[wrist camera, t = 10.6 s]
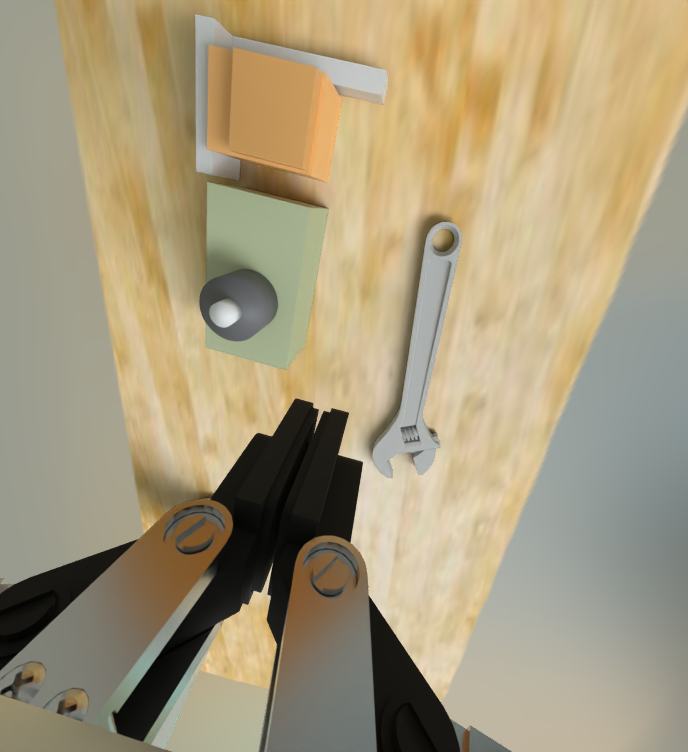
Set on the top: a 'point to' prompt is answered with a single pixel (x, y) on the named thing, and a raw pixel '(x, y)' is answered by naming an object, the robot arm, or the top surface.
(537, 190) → the top surface
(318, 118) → the stepped orange block
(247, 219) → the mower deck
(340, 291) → the top surface
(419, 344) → the adjustable wrench
